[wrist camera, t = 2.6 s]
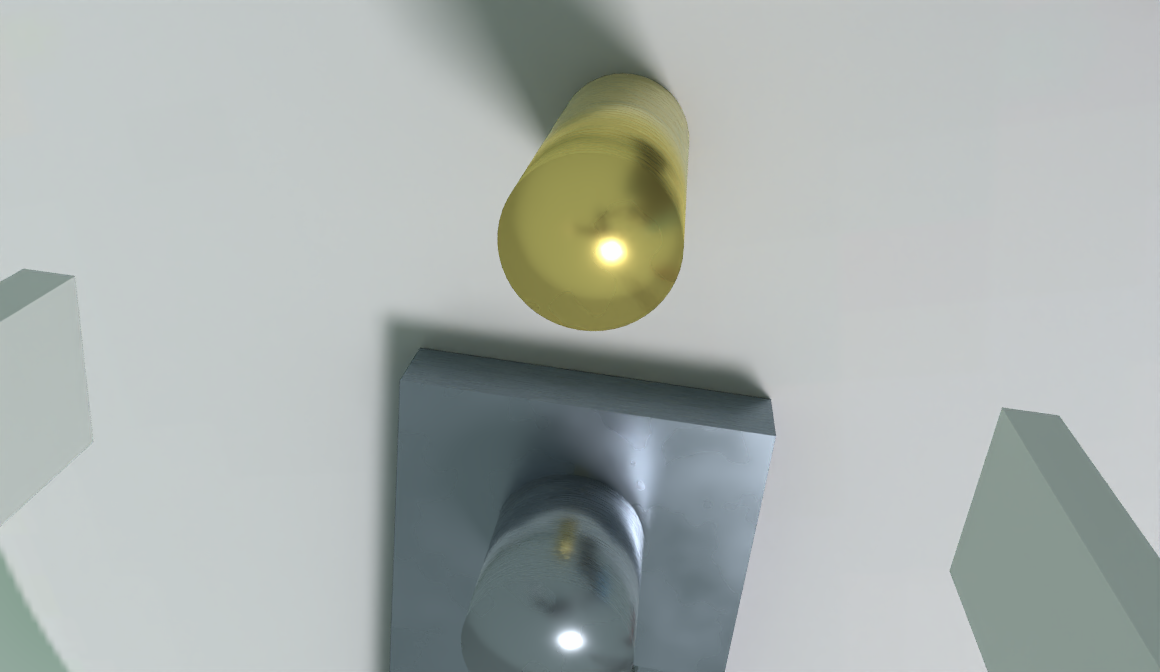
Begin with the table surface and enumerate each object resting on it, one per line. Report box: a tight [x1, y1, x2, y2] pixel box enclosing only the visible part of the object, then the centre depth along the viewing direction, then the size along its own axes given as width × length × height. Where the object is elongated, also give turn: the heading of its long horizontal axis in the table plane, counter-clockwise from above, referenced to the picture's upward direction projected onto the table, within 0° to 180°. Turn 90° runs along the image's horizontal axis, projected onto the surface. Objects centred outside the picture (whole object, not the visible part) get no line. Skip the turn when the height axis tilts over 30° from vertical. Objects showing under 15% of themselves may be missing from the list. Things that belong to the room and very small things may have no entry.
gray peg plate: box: [390, 348, 776, 672], centre depth 34 cm, size 18×12×8 cm, turn 174°
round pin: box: [498, 73, 689, 331], centre depth 26 cm, size 4×4×10 cm
